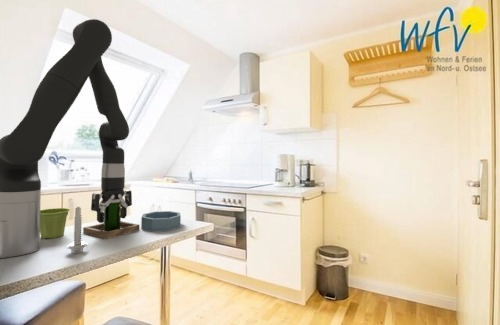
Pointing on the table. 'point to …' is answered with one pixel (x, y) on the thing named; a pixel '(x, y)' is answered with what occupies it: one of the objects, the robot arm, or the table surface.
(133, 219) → the table surface
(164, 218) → the slate bowl
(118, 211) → the beer can
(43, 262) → the table surface
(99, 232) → the walnut frame
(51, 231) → the plant pot
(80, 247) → the screw
